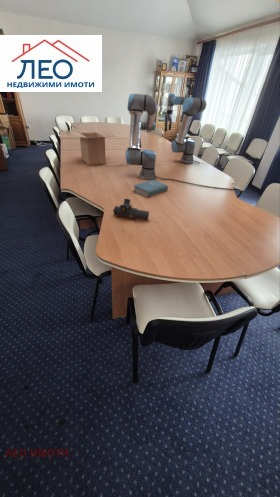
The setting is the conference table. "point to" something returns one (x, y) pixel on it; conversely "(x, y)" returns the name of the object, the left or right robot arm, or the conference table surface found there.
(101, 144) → the box
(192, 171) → the conference table surface
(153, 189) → the book
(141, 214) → the laser sight
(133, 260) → the conference table surface
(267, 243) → the conference table surface
